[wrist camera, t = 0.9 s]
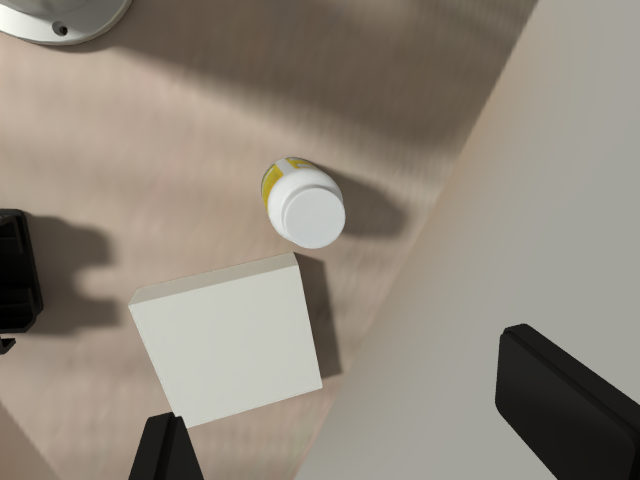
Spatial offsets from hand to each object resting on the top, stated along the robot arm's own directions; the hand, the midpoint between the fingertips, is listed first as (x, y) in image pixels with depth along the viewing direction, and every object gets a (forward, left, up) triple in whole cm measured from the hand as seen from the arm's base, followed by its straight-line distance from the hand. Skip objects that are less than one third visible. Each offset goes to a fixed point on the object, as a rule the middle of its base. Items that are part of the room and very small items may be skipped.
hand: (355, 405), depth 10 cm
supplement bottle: (-1, +2, -23) cm, 23 cm away
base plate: (+12, -6, -23) cm, 26 cm away
